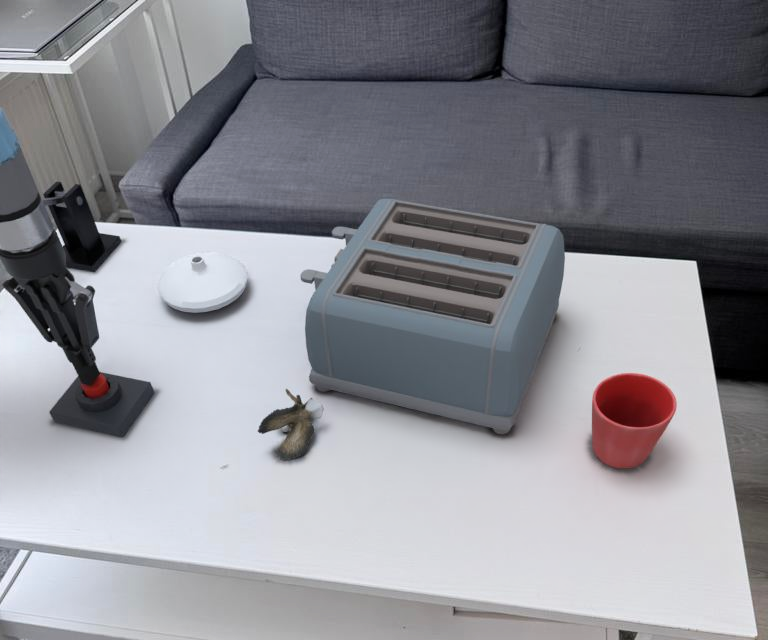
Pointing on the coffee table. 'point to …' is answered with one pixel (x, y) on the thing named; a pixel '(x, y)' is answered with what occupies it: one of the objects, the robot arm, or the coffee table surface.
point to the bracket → (80, 230)
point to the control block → (103, 405)
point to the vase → (202, 282)
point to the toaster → (436, 311)
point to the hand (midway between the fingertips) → (91, 378)
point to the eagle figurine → (293, 425)
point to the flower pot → (629, 418)
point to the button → (96, 387)
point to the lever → (56, 199)
